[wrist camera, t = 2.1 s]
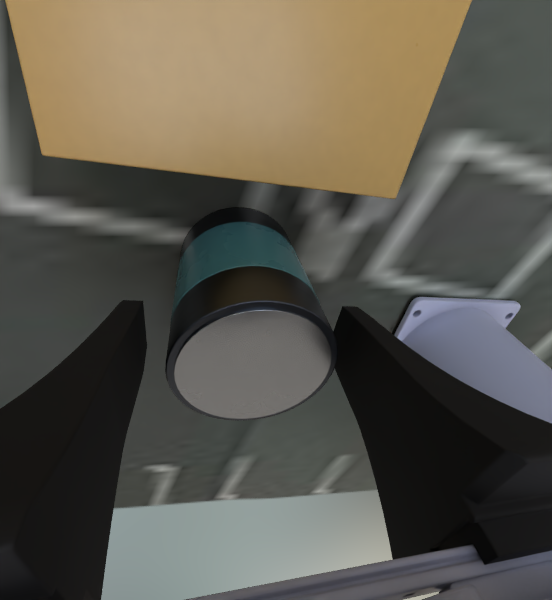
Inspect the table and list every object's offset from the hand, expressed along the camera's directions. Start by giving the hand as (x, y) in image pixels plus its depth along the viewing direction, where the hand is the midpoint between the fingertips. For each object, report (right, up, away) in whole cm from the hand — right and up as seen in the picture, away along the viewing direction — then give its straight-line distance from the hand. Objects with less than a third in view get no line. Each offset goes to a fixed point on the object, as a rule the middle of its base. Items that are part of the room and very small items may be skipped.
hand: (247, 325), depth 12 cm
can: (-1, +3, +4) cm, 5 cm away
